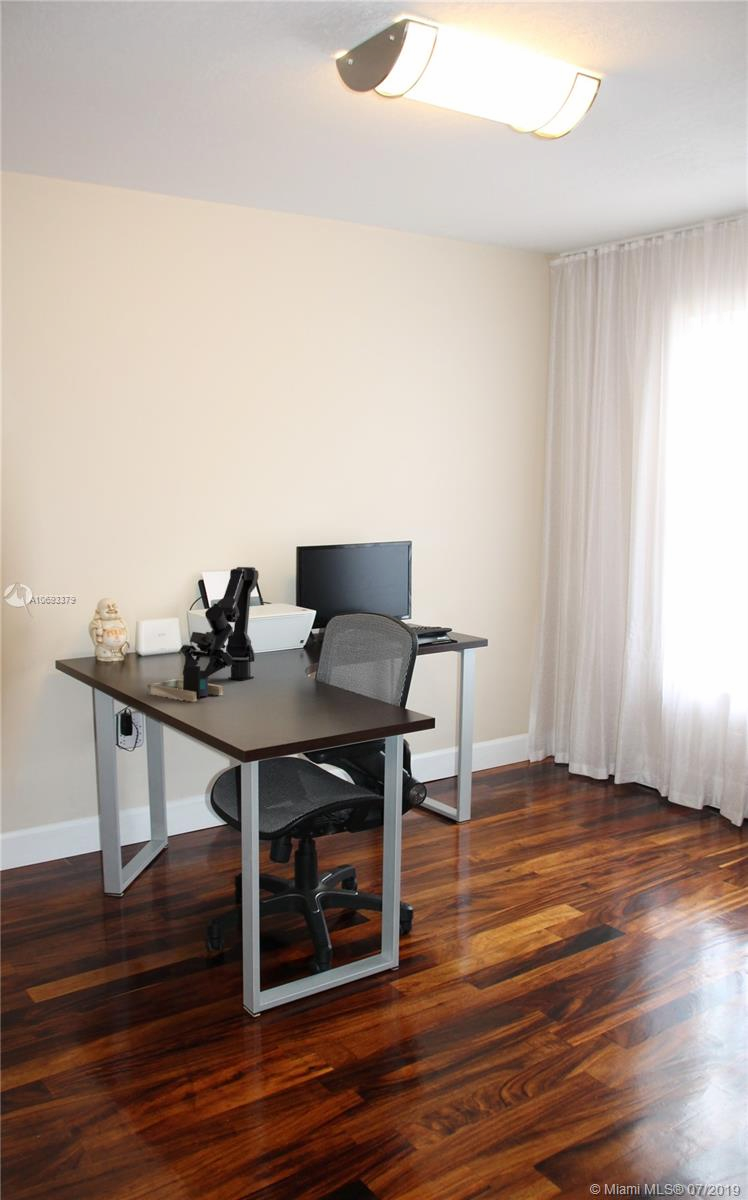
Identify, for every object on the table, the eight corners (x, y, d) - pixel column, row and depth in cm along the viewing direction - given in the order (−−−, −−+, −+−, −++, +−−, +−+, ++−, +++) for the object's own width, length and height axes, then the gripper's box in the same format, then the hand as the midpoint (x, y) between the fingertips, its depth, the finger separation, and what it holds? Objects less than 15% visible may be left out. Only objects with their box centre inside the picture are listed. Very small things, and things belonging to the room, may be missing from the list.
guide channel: (177, 687, 323) (177, 678, 322) (222, 695, 311) (222, 685, 310) (147, 694, 312) (147, 684, 312) (192, 702, 300) (192, 692, 300)
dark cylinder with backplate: (196, 699, 303) (196, 666, 303) (182, 698, 306) (182, 665, 306) (212, 697, 309) (212, 665, 309) (198, 696, 312) (198, 664, 312)
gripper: (183, 619, 314) (158, 658, 307) (225, 624, 304) (200, 664, 296) (201, 640, 322) (177, 679, 314) (243, 646, 311) (219, 686, 303)
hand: (193, 676), depth 307 cm, fingers open, 8 cm apart
